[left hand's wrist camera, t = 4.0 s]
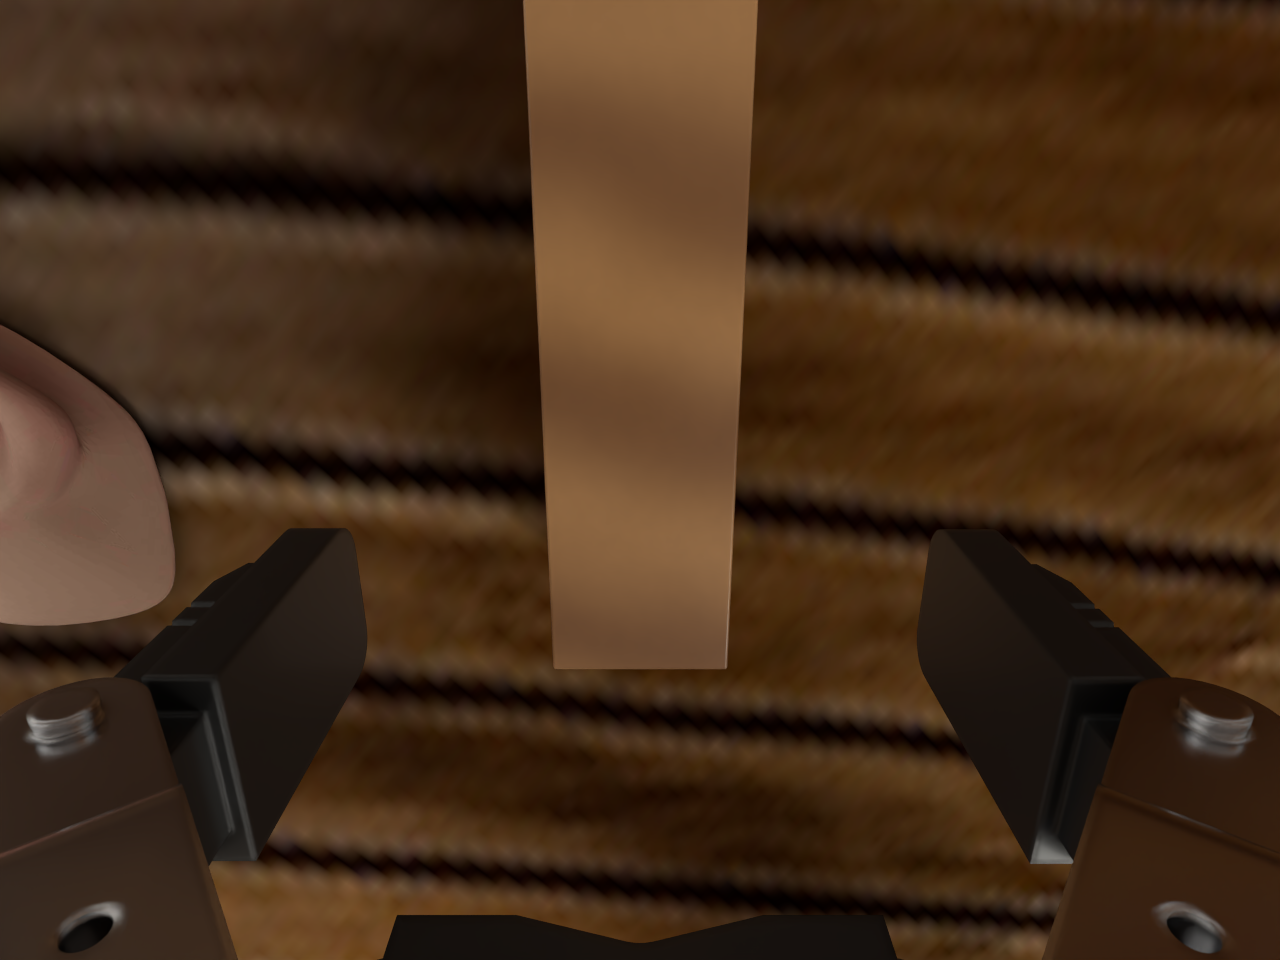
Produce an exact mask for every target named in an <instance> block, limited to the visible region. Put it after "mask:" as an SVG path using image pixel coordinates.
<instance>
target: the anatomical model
mask: <svg viewBox="0 0 1280 960" xmlns="http://www.w3.org/2000/svg"><path fill="white" fill-rule="evenodd" d="M174 578H175V548H174V542H173V536H172V529H171V523H170V517H169V510H168V504H167V499H166V495H165V491H164V488H163V484H162V481H161V478H160V475H159V472H158V469H157V466H156V463H155V460H154V457H153V454H152V451H151V448H150V446H149V444H148V442H147V440H146V438H145V436H144V434H143V432H142V430H141V429H140V427H139V426H138V424H137V423H136V422H135V420H134V419H133V418H132V417H131V415H130V414H129V413H128V412H127V411H126V410H125V409H124V408H123V407H122V406H120V405H119V404H118V403H117V402H116V401H115V400H114V399H112V398H111V397H110V396H109V395H108V394H106V393H105V392H104V391H103V390H101V389H100V388H99V387H97V386H96V385H95V384H93V383H92V382H91V381H89V380H88V379H87V378H85V377H84V376H82V375H81V374H80V373H78V372H77V371H75V370H74V369H72V368H71V367H69V366H68V365H66V364H65V363H63V362H62V361H60V360H59V359H57V358H56V357H54V356H53V355H51V354H50V353H48V352H47V351H45V350H44V349H42V348H40V347H39V346H37V345H35V344H34V343H32V342H30V341H29V340H27V339H25V338H24V337H22V336H20V335H19V334H17V333H15V332H13V331H11V330H9V329H8V328H6V327H4V326H2V325H0V622H1V623H7V624H19V625H32V626H40V625H68V624H79V623H88V622H95V621H102V620H108V619H114V618H119V617H123V616H127V615H131V614H135V613H138V612H141V611H144V610H147V609H149V608H151V607H153V606H155V605H157V604H158V603H160V602H161V601H162V600H163V599H164V598H166V596H167V595H168V594H169V592H170V590H171V589H172V586H173V583H174Z"/></svg>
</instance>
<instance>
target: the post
mask: <svg viewBox="0 0 1280 960" xmlns="http://www.w3.org/2000/svg"><path fill="white" fill-rule="evenodd" d="M757 12H758V0H523V14H524V35H525V57H526V79H527V101H528V123H529V145H530V167H531V189H532V211H533V233H534V254H535V276H536V298H537V320H538V342H539V364H540V386H541V408H542V430H543V451H544V473H545V495H546V517H547V539H548V561H549V583H550V605H551V627H552V649H553V667H554V669H726V668H727V664H728V642H729V620H730V598H731V577H732V555H733V533H734V512H735V490H736V468H737V446H738V425H739V403H740V381H741V360H742V338H743V316H744V294H745V273H746V251H747V229H748V208H749V186H750V164H751V142H752V121H753V99H754V77H755V56H756V34H757Z"/></svg>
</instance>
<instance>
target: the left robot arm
mask: <svg viewBox="0 0 1280 960" xmlns="http://www.w3.org/2000/svg"><path fill="white" fill-rule="evenodd" d="M172 622H173V623H172V626H167V627H166V628H165V629H164V630H162V631H161V632H160V633H159V634H158V635H157V636H156V637H155V638H154V639H153V640H152V641H151V642H150V643H149V644H148V645H147V646H146V647H145V648H144V649H143V650H142V651H141V652H140V653H138V654H137V655H136V656H135V657H134V658H133V659H132V660H131V661H130V662H129V663H128V664H127V665H126V666H125V667H124V668H123V669H122V670H121V671H120V672H119V673H118V674H117V675H115V676H114V677H110V678H96V679H89V680H84V681H78V682H74V683H71V684H67V685H63V686H60V687H57V688H54V689H51V690H48V691H46V692H43V693H41V694H39V695H36V696H34V697H32V698H30V699H28V700H26V701H24V702H22V703H20V704H18V705H17V706H15V707H13V708H12V709H10V710H8V711H7V712H6V713H4V714H3V715H1V716H0V960H238V958H237V955H236V952H235V949H234V946H233V942H232V939H231V936H230V933H229V930H228V927H227V924H226V920H225V917H224V914H223V911H222V908H221V905H220V901H219V898H218V895H217V892H216V889H215V886H214V882H213V879H212V876H211V873H210V870H209V867H208V866H209V865H210V863H211V862H212V861H256V860H257V858H258V856H259V855H260V853H261V851H262V849H263V847H264V846H265V844H266V842H267V840H268V838H269V837H270V835H271V833H272V831H273V830H274V828H275V826H276V824H277V822H278V821H279V819H280V817H281V815H282V813H283V812H284V810H285V808H286V806H287V804H288V803H289V801H290V799H291V797H292V795H293V794H294V792H295V790H296V788H297V787H298V785H299V783H300V781H301V779H302V778H303V776H304V774H305V772H306V770H307V769H308V767H309V765H310V763H311V761H312V760H313V758H314V756H315V754H316V753H317V751H318V749H319V747H320V745H321V744H322V742H323V740H324V738H325V736H326V735H327V733H328V731H329V729H330V727H331V726H332V724H333V722H334V720H335V719H336V717H337V715H338V713H339V711H340V710H341V708H342V706H343V704H344V702H345V701H346V699H347V697H348V695H349V693H350V692H351V690H352V688H353V686H354V685H355V683H356V681H357V679H358V677H359V675H360V673H361V671H362V668H363V665H364V662H365V657H366V650H367V627H366V619H365V612H364V605H363V598H362V591H361V584H360V577H359V570H358V563H357V556H356V549H355V544H354V540H353V537H352V535H351V533H350V532H349V531H348V530H347V529H345V528H291V529H288V530H287V531H286V532H284V533H283V534H282V535H281V537H280V538H279V539H278V540H277V541H276V542H275V543H274V544H273V545H272V546H271V547H270V548H269V549H268V550H267V551H266V552H265V553H264V554H263V555H262V556H261V557H260V558H259V559H258V560H257V561H256V562H255V563H248V564H246V565H244V566H242V567H240V568H238V569H236V570H234V571H232V572H231V573H229V574H227V575H225V576H223V577H221V578H219V579H217V580H216V581H214V582H213V583H212V584H211V585H210V586H208V587H207V588H206V589H205V590H204V591H203V592H202V593H201V594H200V595H199V596H198V597H197V598H196V599H195V600H194V601H193V602H192V603H191V607H187V608H185V609H184V610H183V611H182V612H181V613H180V614H179V615H178V616H177V617H176V618H175V619H174V620H173V621H172ZM1113 624H1114V623H1113V622H1112V621H1111V620H1110V619H1109V618H1108V617H1107V616H1106V615H1105V614H1104V613H1103V612H1102V611H1101V610H1100V609H1095V608H1094V604H1093V603H1092V602H1091V601H1090V600H1089V599H1088V598H1087V597H1086V596H1085V595H1084V594H1083V593H1082V592H1081V591H1080V590H1079V589H1078V588H1077V587H1075V586H1074V585H1073V584H1072V583H1071V582H1069V581H1067V580H1065V579H1063V578H1062V577H1060V576H1058V575H1056V574H1054V573H1052V572H1050V571H1048V570H1046V569H1045V568H1043V567H1041V566H1039V565H1037V564H1030V563H1029V562H1028V561H1027V560H1026V559H1025V558H1024V557H1023V556H1022V555H1021V554H1020V553H1019V552H1018V551H1017V550H1016V549H1015V548H1014V547H1013V546H1012V545H1011V544H1010V543H1009V542H1008V541H1007V540H1006V539H1005V538H1004V537H1003V536H1002V535H1001V534H1000V533H999V532H998V531H996V530H938V531H936V532H935V533H934V535H933V537H932V539H931V543H930V547H929V552H928V559H927V566H926V573H925V580H924V587H923V594H922V601H921V608H920V615H919V622H918V630H917V649H918V657H919V662H920V666H921V669H922V672H923V674H924V676H925V678H926V680H927V682H928V684H929V685H930V687H931V689H932V691H933V692H934V694H935V696H936V698H937V700H938V701H939V703H940V705H941V707H942V708H943V710H944V712H945V714H946V715H947V717H948V719H949V721H950V723H951V724H952V726H953V728H954V730H955V731H956V733H957V735H958V737H959V738H960V740H961V742H962V744H963V746H964V747H965V749H966V751H967V753H968V754H969V756H970V758H971V760H972V761H973V763H974V765H975V767H976V768H977V770H978V772H979V774H980V776H981V777H982V779H983V781H984V783H985V784H986V786H987V788H988V790H989V791H990V793H991V795H992V797H993V799H994V800H995V802H996V804H997V806H998V807H999V809H1000V811H1001V813H1002V814H1003V816H1004V818H1005V820H1006V822H1007V823H1008V825H1009V827H1010V829H1011V830H1012V832H1013V834H1014V836H1015V837H1016V839H1017V841H1018V843H1019V845H1020V846H1021V848H1022V850H1023V852H1024V853H1025V855H1026V857H1027V859H1028V860H1029V862H1030V864H1072V867H1071V870H1070V873H1069V876H1068V879H1067V882H1066V886H1065V889H1064V892H1063V895H1062V898H1061V901H1060V905H1059V908H1058V911H1057V914H1056V917H1055V920H1054V924H1053V927H1052V930H1051V933H1050V936H1049V939H1048V942H1047V946H1046V949H1045V952H1044V955H1043V958H1042V960H1280V716H1279V715H1277V714H1276V713H1274V712H1273V711H1272V710H1270V709H1268V708H1267V707H1265V706H1263V705H1262V704H1260V703H1258V702H1256V701H1254V700H1252V699H1250V698H1248V697H1246V696H1244V695H1241V694H1239V693H1237V692H1234V691H1232V690H1229V689H1226V688H1223V687H1220V686H1217V685H1213V684H1209V683H1206V682H1202V681H1196V680H1191V679H1184V678H1171V677H1170V676H1169V675H1168V674H1167V673H1166V672H1165V671H1164V670H1163V669H1162V668H1161V667H1160V666H1159V665H1158V664H1157V663H1156V662H1155V661H1153V660H1152V659H1151V658H1150V657H1149V656H1148V655H1147V654H1146V653H1145V652H1144V651H1143V650H1142V649H1141V648H1140V647H1139V646H1138V645H1137V644H1136V643H1134V642H1133V641H1132V640H1131V639H1130V638H1129V637H1128V636H1127V635H1126V634H1125V633H1124V632H1123V631H1122V630H1121V629H1120V628H1119V627H1114V625H1113ZM379 960H902V959H898V958H897V957H896V954H895V951H894V948H893V945H892V941H891V938H890V935H889V932H888V929H887V926H886V923H885V920H884V917H883V915H762V916H758V917H754V918H750V919H746V920H741V921H737V922H733V923H729V924H725V925H721V926H717V927H712V928H708V929H704V930H700V931H696V932H692V933H688V934H683V935H679V936H675V937H671V938H667V939H663V940H659V941H654V942H649V943H631V942H626V941H621V940H617V939H613V938H609V937H605V936H601V935H597V934H592V933H588V932H584V931H580V930H576V929H572V928H568V927H563V926H559V925H555V924H551V923H547V922H543V921H539V920H534V919H530V918H526V917H522V916H518V915H397V917H396V920H395V923H394V926H393V929H392V932H391V935H390V938H389V941H388V945H387V948H386V951H385V954H384V957H383V958H382V959H379Z"/></svg>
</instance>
